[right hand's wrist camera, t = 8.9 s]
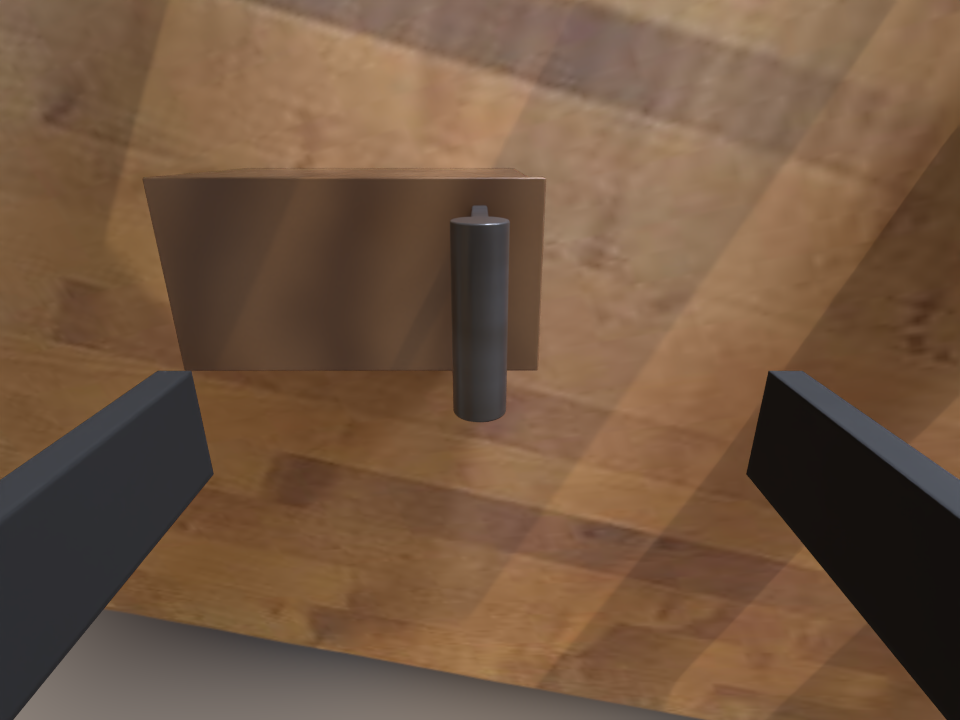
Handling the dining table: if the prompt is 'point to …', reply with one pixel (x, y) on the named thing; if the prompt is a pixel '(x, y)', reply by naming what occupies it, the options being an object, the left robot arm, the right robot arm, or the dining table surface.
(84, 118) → the dining table surface
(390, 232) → the lid
